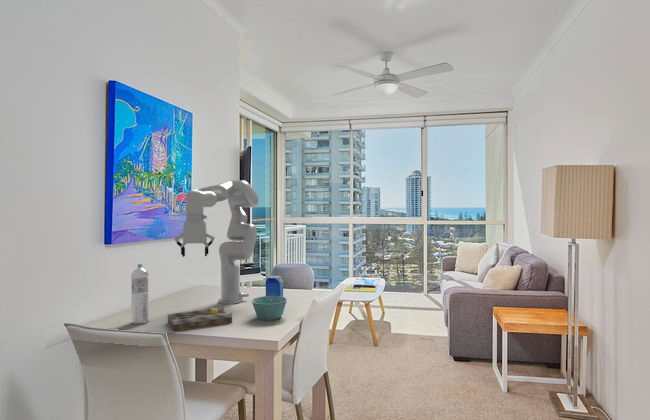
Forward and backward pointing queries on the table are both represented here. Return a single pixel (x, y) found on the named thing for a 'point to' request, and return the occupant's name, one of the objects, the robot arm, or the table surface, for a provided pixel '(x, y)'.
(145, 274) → the water bottle
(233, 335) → the table surface
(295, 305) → the table surface
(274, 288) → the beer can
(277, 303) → the bowl
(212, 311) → the ball
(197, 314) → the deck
